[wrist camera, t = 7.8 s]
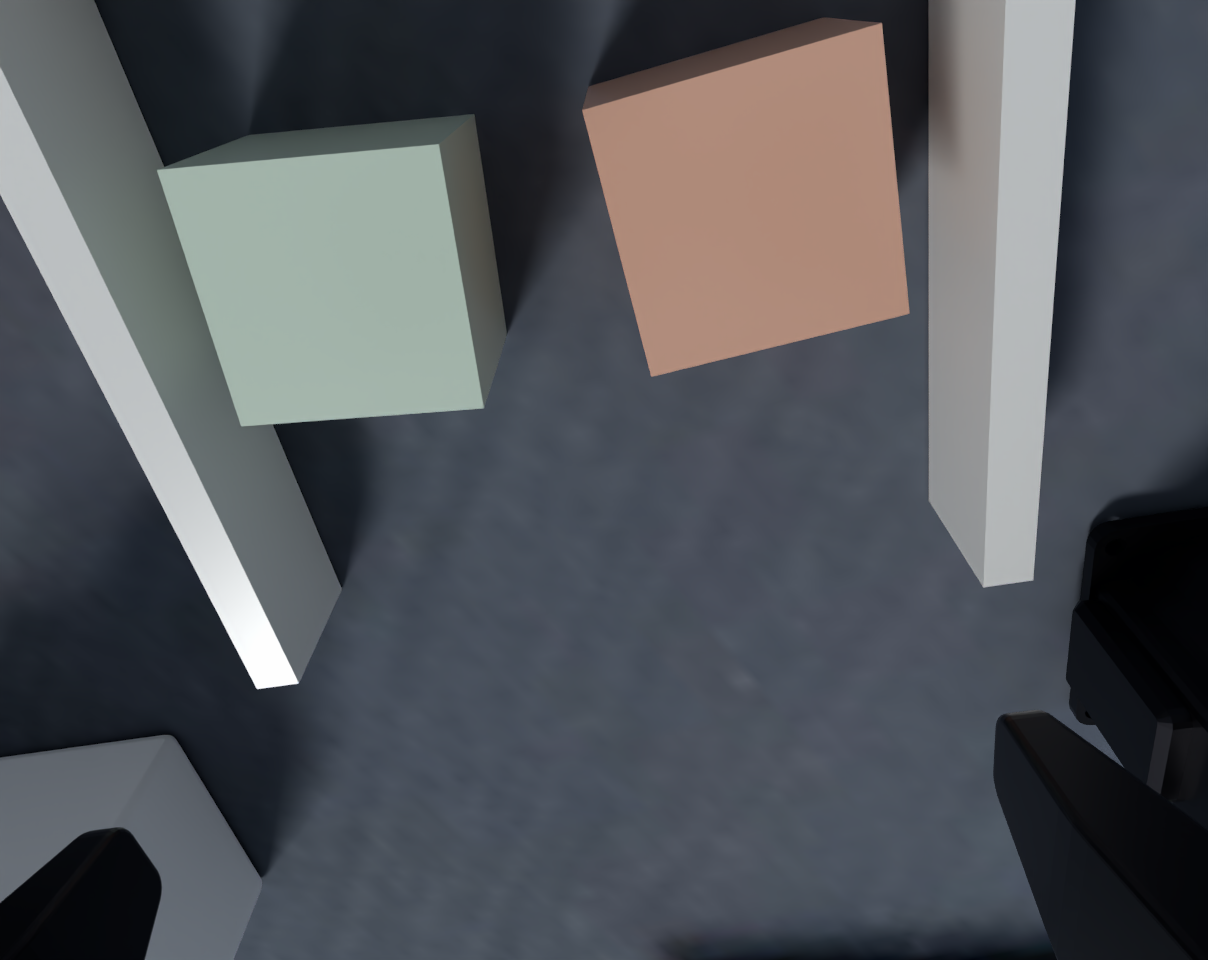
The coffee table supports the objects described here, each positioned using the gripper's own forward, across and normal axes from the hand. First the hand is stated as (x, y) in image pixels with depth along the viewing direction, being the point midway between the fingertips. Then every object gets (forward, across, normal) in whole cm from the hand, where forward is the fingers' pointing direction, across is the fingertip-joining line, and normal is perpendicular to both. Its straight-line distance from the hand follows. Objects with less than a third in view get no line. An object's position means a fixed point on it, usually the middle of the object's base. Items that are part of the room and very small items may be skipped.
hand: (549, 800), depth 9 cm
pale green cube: (+12, +4, -3) cm, 13 cm away
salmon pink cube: (+12, -4, -3) cm, 13 cm away
